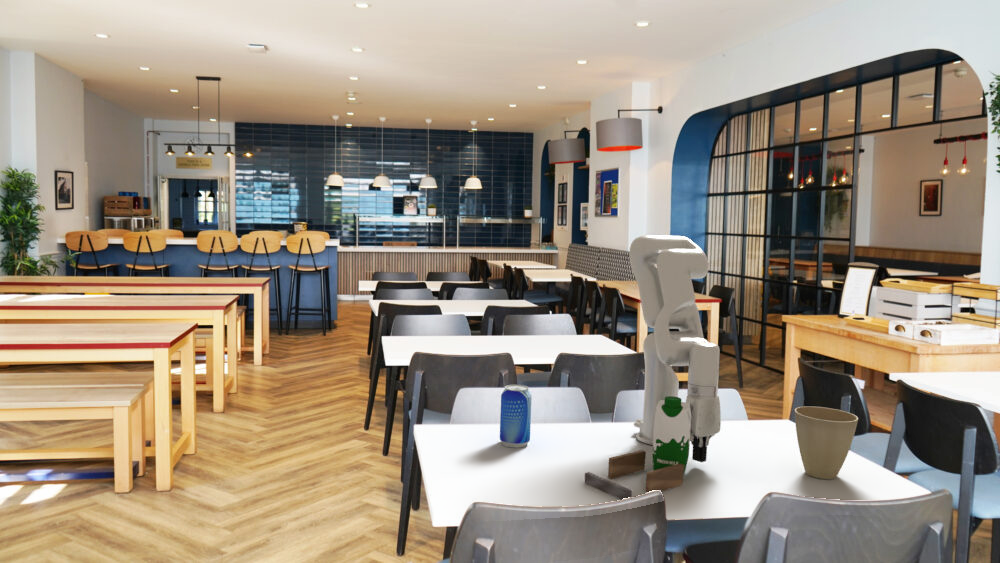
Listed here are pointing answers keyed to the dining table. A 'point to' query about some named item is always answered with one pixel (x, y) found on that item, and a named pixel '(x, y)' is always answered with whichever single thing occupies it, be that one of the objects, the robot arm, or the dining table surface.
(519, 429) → the beer can
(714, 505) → the dining table surface
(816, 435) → the plant pot
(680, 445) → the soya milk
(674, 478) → the wooden planks
